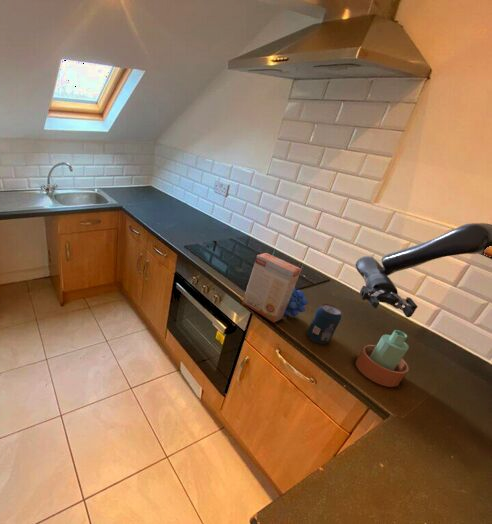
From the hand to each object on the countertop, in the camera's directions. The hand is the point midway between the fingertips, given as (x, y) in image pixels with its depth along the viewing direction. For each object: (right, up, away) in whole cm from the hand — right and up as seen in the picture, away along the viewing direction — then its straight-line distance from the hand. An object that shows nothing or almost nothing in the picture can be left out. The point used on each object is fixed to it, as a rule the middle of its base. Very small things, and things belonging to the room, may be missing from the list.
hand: (392, 310), depth 91 cm
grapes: (-24, -6, +19) cm, 31 cm away
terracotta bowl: (-6, -18, -2) cm, 19 cm away
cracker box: (-32, -4, +21) cm, 38 cm away
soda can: (-17, -11, +10) cm, 23 cm away
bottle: (-6, -18, -2) cm, 19 cm away
